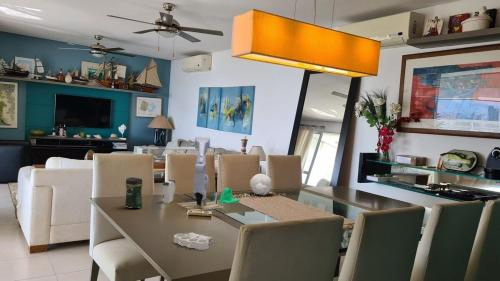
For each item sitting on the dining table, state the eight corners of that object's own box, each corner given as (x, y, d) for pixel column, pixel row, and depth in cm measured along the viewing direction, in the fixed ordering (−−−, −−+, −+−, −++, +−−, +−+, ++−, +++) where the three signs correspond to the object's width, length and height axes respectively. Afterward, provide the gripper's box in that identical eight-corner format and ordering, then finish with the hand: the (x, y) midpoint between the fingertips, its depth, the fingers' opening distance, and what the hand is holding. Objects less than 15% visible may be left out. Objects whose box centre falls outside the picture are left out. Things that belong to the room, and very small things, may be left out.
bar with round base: (198, 208, 233) (198, 204, 233) (197, 204, 245) (197, 200, 245) (206, 208, 233) (206, 204, 233) (205, 204, 246) (205, 200, 246)
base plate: (177, 205, 245) (177, 199, 245) (207, 202, 257) (207, 196, 257) (191, 213, 228) (192, 206, 227) (224, 209, 240) (224, 203, 240)
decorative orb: (259, 191, 305) (260, 171, 304) (278, 194, 295) (279, 174, 294) (244, 194, 289) (244, 173, 288) (263, 198, 279) (264, 176, 278)
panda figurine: (164, 201, 255) (164, 179, 255) (180, 203, 253) (181, 180, 252) (156, 205, 244) (156, 181, 243) (173, 207, 241) (173, 183, 240)
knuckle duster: (218, 244, 175) (198, 253, 163) (188, 236, 184) (166, 244, 172) (219, 237, 175) (198, 245, 162) (188, 229, 184) (167, 237, 172)
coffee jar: (144, 208, 235) (145, 177, 234) (134, 210, 229) (135, 179, 227) (132, 205, 240) (133, 176, 239) (122, 208, 233) (123, 177, 232)
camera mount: (227, 206, 250) (228, 190, 249) (219, 204, 255) (219, 188, 254) (239, 203, 259) (240, 188, 259) (231, 201, 264) (232, 186, 264)
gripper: (188, 181, 240) (187, 202, 241) (199, 185, 228) (198, 208, 229) (198, 180, 244) (198, 201, 245) (209, 184, 232) (208, 206, 233)
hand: (198, 204), depth 238 cm, fingers closed, pressing on bar with round base
